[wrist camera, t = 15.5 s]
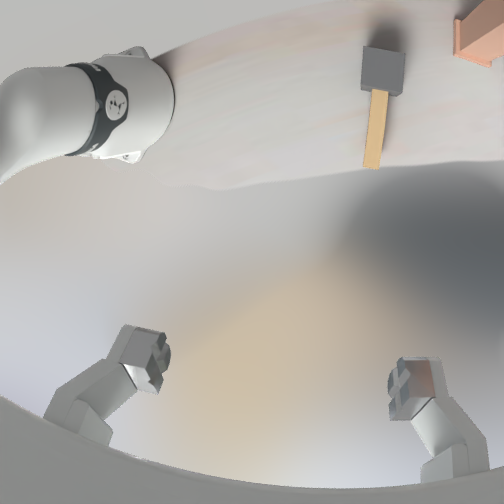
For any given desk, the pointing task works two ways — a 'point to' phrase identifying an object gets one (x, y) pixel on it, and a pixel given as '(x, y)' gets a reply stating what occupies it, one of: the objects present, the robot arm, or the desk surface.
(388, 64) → the mallet
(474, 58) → the stand
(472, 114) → the desk surface
